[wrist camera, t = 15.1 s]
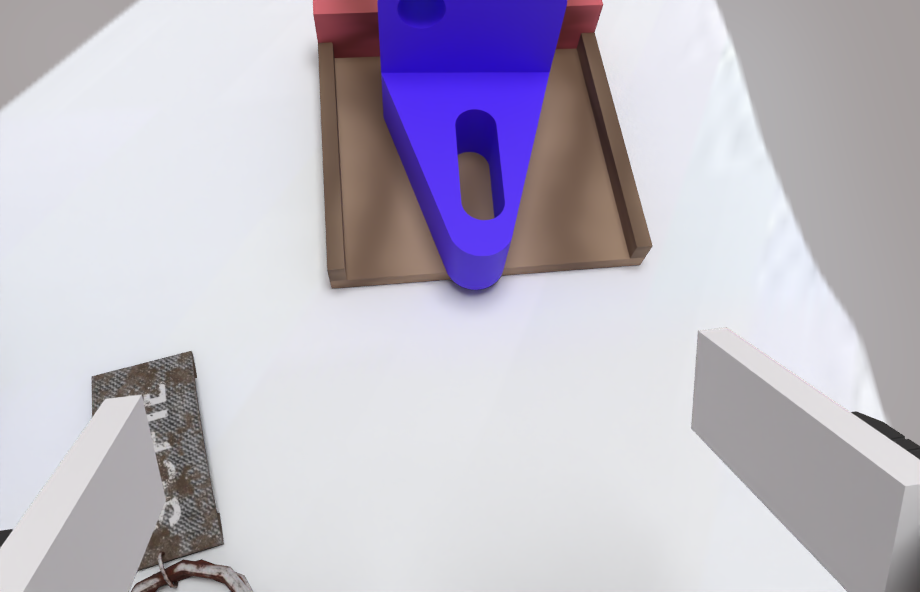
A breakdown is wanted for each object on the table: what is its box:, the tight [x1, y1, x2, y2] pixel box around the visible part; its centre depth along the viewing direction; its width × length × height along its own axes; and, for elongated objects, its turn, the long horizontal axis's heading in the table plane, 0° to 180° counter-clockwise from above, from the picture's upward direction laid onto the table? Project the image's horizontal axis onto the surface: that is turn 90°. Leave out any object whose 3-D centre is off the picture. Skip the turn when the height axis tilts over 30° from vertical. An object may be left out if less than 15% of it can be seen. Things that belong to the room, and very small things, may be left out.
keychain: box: [92, 351, 253, 592], centre depth 35 cm, size 8×19×2 cm, turn 18°
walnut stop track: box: [313, 0, 652, 288], centre depth 45 cm, size 20×20×5 cm
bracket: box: [377, 0, 567, 290], centre depth 40 cm, size 18×11×12 cm, turn 4°
